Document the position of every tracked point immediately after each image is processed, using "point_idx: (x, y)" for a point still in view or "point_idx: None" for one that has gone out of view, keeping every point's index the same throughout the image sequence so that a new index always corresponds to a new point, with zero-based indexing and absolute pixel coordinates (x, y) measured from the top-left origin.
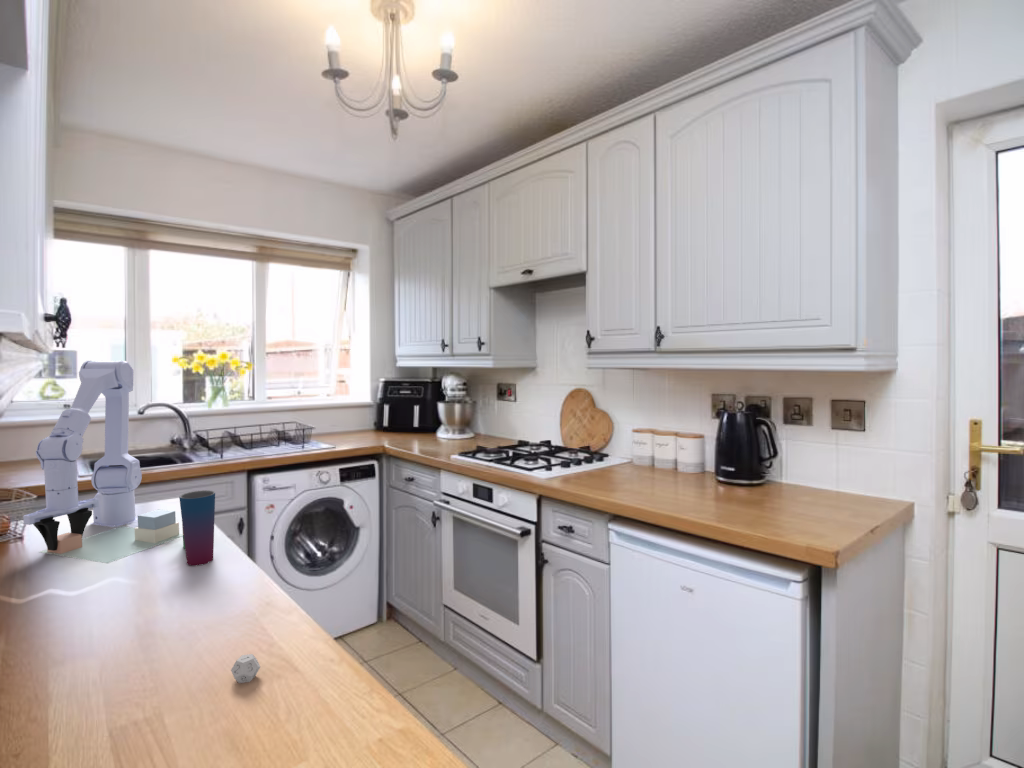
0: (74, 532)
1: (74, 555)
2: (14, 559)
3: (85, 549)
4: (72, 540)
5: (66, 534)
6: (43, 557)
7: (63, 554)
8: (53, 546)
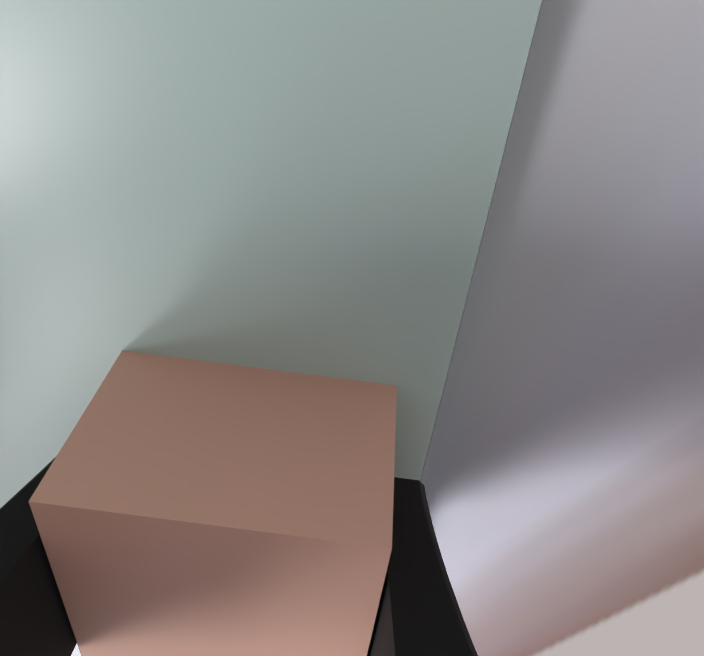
0: (54, 619)
1: (426, 139)
2: (521, 633)
3: (165, 222)
4: (206, 474)
5: (146, 646)
6: (450, 494)
7: (415, 337)
8: (431, 530)
